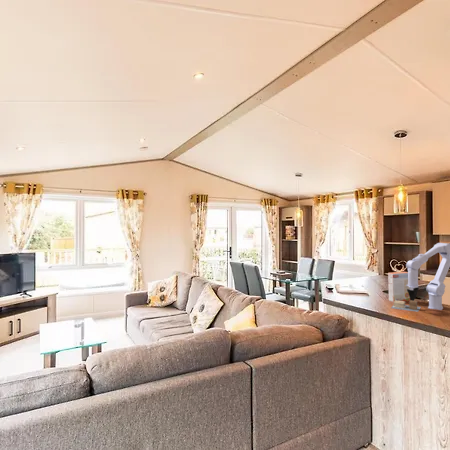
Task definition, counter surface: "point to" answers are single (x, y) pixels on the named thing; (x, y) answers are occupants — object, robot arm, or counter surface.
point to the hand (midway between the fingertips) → (413, 299)
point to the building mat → (406, 308)
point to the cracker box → (398, 286)
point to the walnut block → (413, 305)
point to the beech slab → (399, 304)
